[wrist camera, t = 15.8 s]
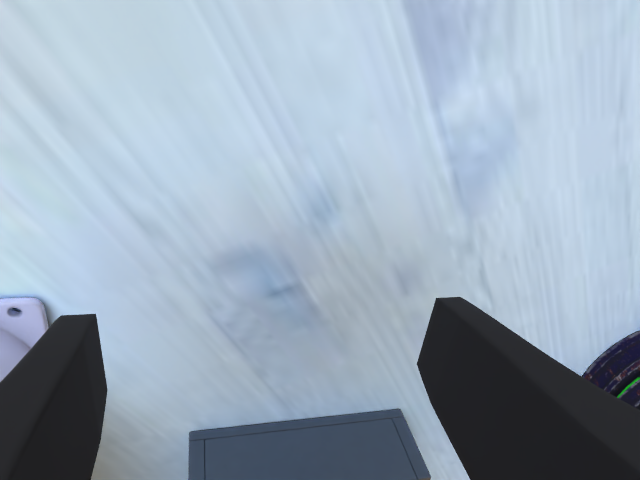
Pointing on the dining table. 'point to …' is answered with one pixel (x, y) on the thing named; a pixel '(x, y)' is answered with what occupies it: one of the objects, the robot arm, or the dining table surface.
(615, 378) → the dark purple cylinder
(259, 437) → the open square box
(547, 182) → the dining table surface
